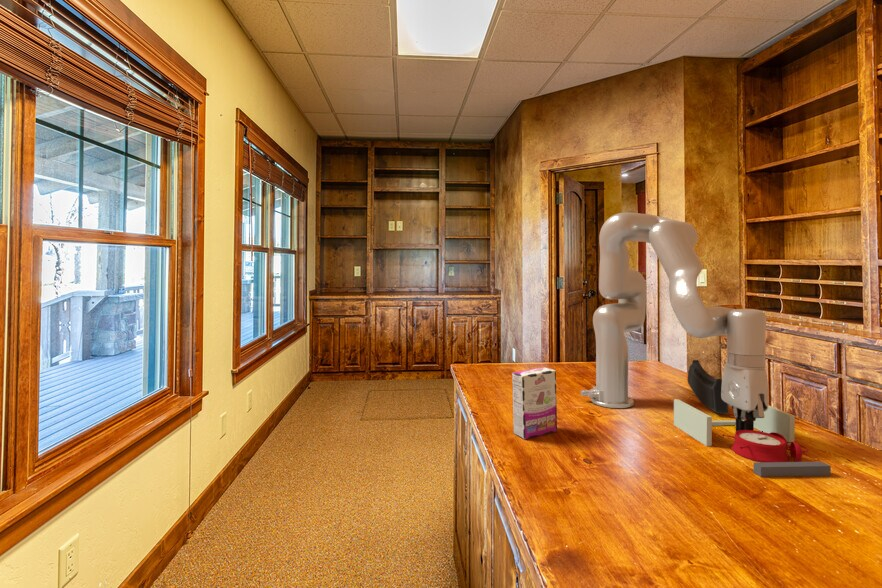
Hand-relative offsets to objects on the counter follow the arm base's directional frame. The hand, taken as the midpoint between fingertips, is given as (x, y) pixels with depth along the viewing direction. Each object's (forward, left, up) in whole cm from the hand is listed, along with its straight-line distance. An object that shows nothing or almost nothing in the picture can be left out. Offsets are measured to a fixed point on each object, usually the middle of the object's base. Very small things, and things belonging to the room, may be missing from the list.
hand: (744, 435), depth 101 cm
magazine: (+11, +32, -2) cm, 33 cm away
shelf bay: (0, +5, -2) cm, 5 cm away
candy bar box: (-49, +8, -2) cm, 50 cm away
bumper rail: (-2, -16, -2) cm, 16 cm away
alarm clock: (0, -7, -2) cm, 7 cm away
